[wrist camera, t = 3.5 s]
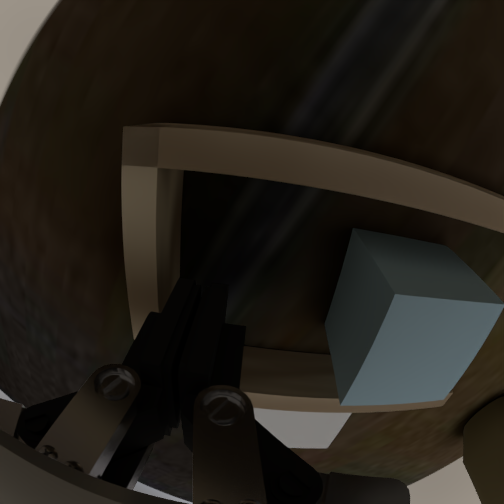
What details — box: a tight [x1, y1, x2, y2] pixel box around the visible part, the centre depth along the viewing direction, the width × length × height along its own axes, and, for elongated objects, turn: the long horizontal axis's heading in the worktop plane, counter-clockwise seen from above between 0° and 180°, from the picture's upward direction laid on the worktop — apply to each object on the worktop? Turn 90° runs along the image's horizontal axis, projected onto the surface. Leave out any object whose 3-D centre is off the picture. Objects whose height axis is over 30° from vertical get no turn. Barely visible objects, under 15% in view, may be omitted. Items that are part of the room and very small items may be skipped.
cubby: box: [121, 123, 504, 413], centre depth 11 cm, size 11×16×3 cm
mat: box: [253, 408, 351, 448], centre depth 17 cm, size 8×8×1 cm
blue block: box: [325, 228, 504, 406], centre depth 11 cm, size 5×5×5 cm
